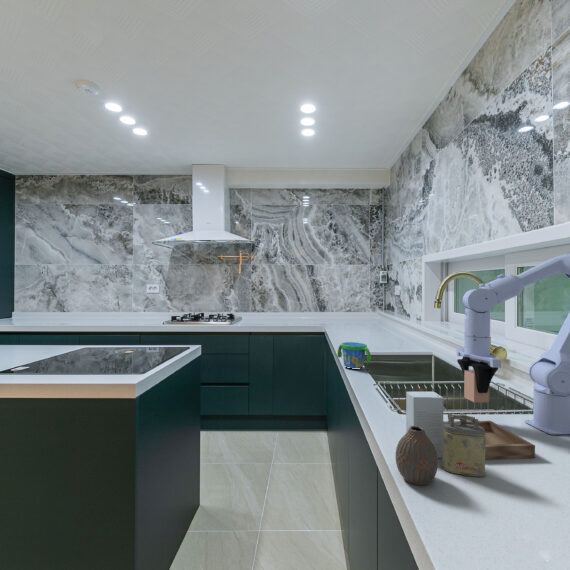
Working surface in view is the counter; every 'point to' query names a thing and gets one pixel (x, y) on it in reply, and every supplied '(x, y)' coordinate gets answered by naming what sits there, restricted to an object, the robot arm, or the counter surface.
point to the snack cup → (354, 354)
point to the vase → (416, 457)
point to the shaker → (473, 387)
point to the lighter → (464, 446)
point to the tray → (503, 442)
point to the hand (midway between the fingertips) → (476, 389)
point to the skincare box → (426, 416)
